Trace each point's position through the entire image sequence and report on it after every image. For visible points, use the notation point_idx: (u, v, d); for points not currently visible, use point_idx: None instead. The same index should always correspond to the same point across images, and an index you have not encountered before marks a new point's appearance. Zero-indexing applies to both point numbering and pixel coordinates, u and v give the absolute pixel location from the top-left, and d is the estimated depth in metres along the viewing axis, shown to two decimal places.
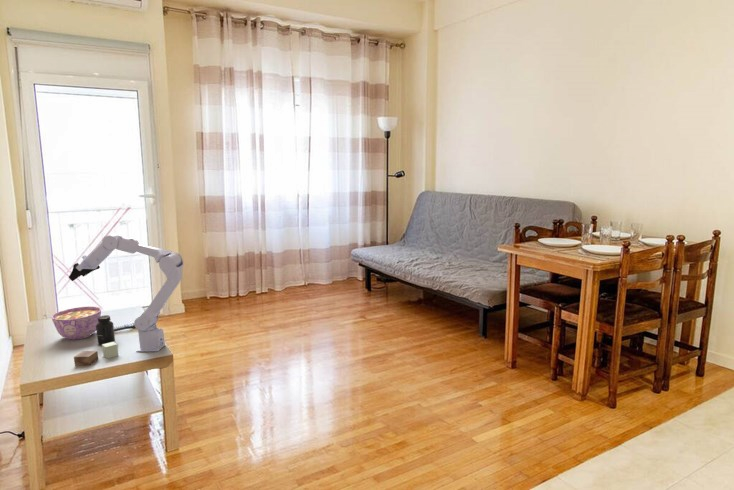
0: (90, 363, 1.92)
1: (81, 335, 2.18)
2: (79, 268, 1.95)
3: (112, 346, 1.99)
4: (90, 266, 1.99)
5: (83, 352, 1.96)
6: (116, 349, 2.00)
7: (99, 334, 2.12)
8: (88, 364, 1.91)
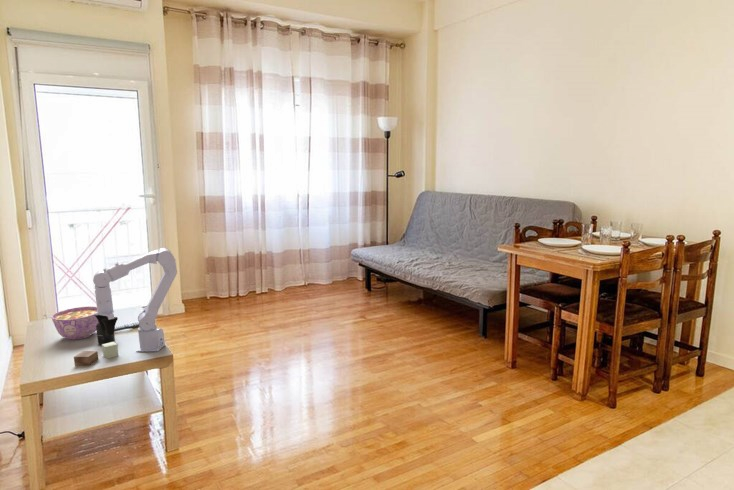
0: (90, 363, 1.92)
1: (81, 335, 2.18)
2: (112, 316, 1.93)
3: (112, 346, 1.99)
4: (111, 311, 1.97)
5: (83, 352, 1.96)
6: (116, 349, 2.00)
7: (99, 334, 2.12)
8: (88, 364, 1.91)
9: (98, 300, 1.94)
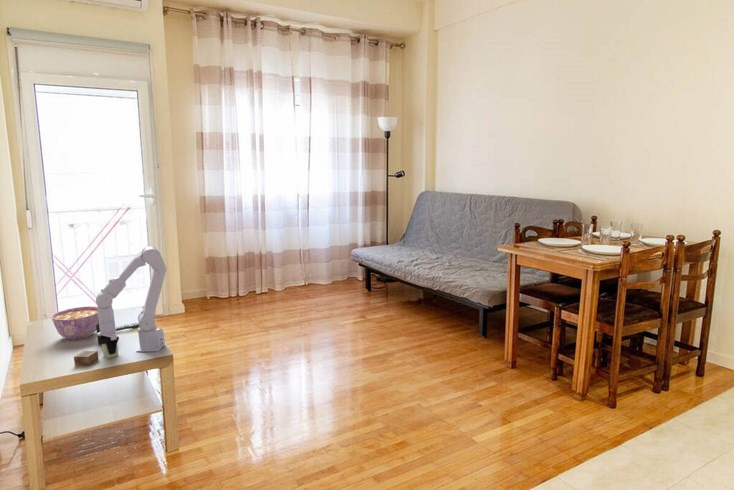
0: (89, 363, 1.92)
1: (81, 335, 2.18)
2: (114, 337, 1.95)
3: None
4: (113, 331, 1.99)
5: (83, 351, 1.96)
6: (116, 349, 2.00)
7: None
8: (87, 364, 1.91)
9: (101, 321, 1.96)
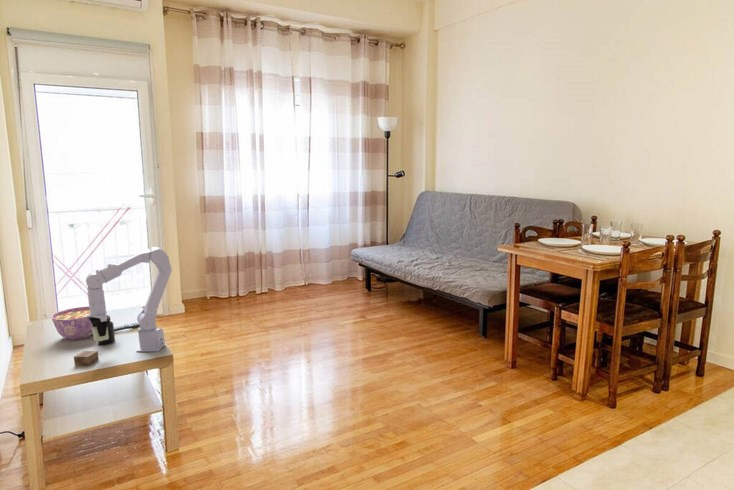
0: (89, 363, 1.92)
1: (81, 335, 2.18)
2: (104, 319, 1.91)
3: None
4: (104, 313, 1.95)
5: (84, 351, 1.96)
6: (106, 332, 1.97)
7: None
8: (87, 364, 1.91)
9: (91, 302, 1.92)
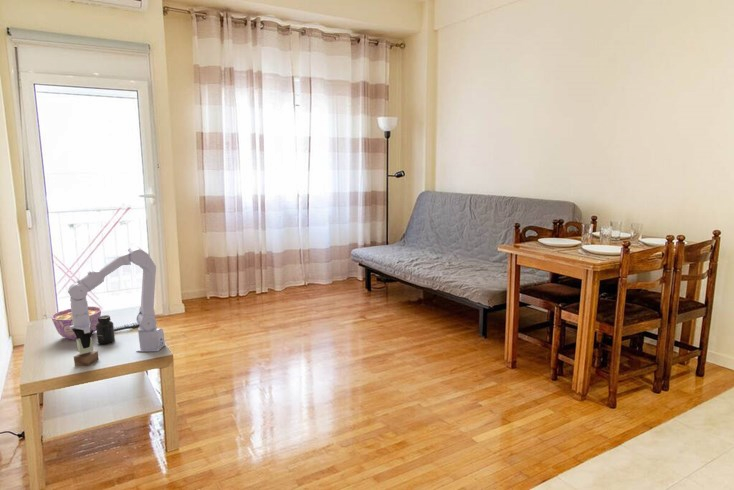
0: (89, 363, 1.92)
1: None
2: (88, 330, 1.87)
3: None
4: (87, 324, 1.91)
5: None
6: (91, 344, 1.93)
7: (99, 334, 2.12)
8: (87, 364, 1.91)
9: (75, 313, 1.88)
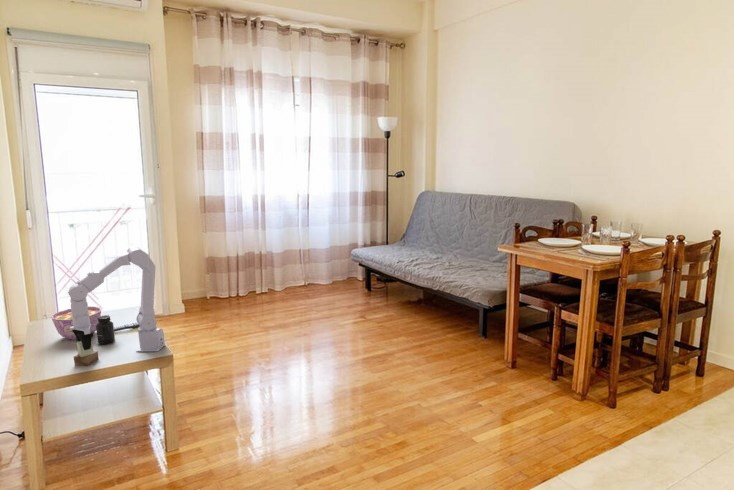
0: (89, 363, 1.92)
1: None
2: (88, 331, 1.87)
3: None
4: (88, 325, 1.91)
5: None
6: (91, 347, 1.93)
7: (99, 334, 2.12)
8: (87, 364, 1.91)
9: (75, 314, 1.88)
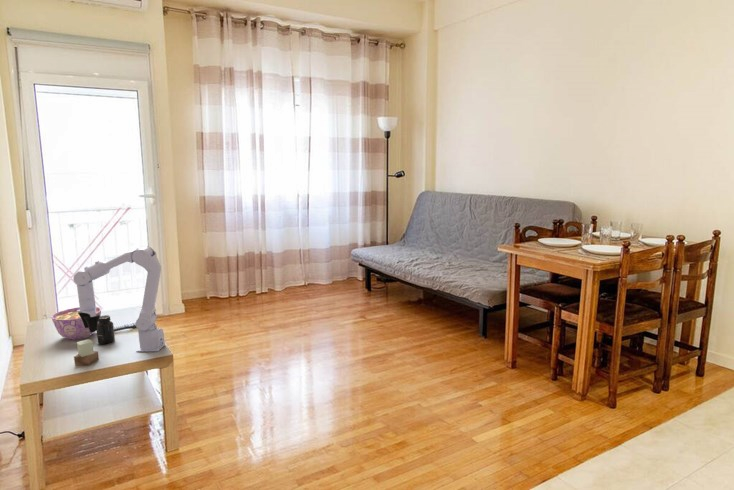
0: (89, 363, 1.92)
1: (81, 335, 2.18)
2: (94, 314, 1.96)
3: (87, 344, 1.92)
4: (93, 308, 2.00)
5: None
6: (91, 347, 1.93)
7: (99, 334, 2.12)
8: (87, 364, 1.91)
9: (79, 298, 1.98)
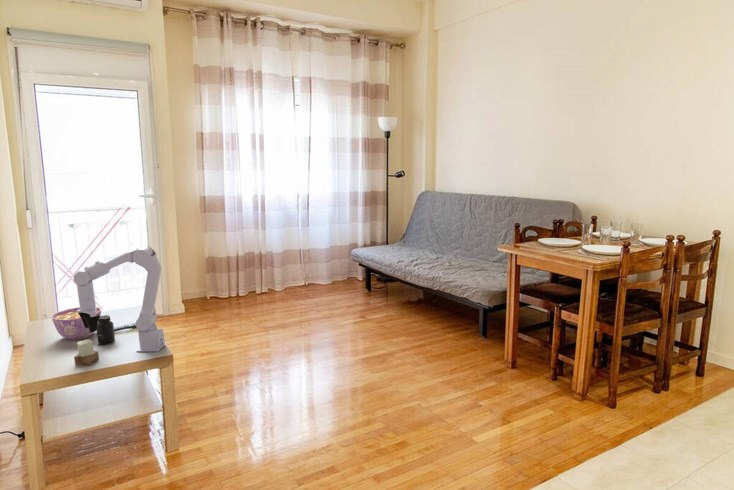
0: (89, 363, 1.92)
1: (81, 335, 2.18)
2: (94, 314, 1.96)
3: (87, 344, 1.92)
4: (93, 308, 2.00)
5: None
6: (91, 347, 1.93)
7: (99, 334, 2.12)
8: (87, 364, 1.91)
9: (79, 298, 1.98)
